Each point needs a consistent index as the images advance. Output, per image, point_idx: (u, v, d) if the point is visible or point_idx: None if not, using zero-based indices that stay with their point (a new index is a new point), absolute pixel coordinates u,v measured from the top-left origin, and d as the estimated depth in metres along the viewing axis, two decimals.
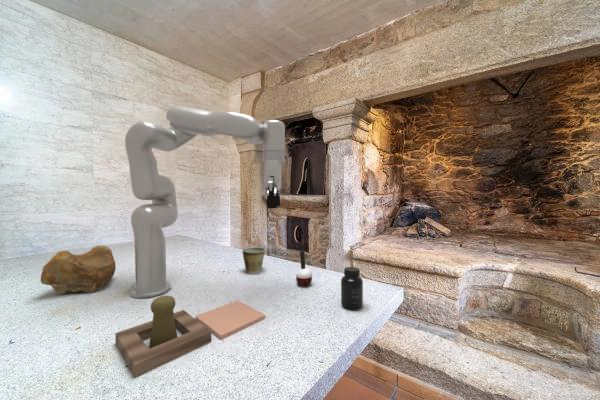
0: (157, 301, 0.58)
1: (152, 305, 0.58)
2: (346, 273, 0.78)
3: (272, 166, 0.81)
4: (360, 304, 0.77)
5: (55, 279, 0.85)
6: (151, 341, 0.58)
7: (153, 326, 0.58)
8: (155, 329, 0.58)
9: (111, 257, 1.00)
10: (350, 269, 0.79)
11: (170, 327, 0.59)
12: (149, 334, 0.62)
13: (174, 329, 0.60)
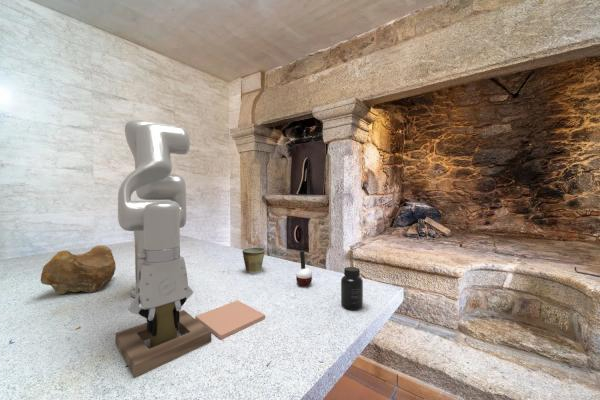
0: None
1: None
2: (346, 273, 0.78)
3: None
4: (360, 304, 0.77)
5: (55, 279, 0.85)
6: (151, 341, 0.58)
7: None
8: None
9: (111, 257, 1.00)
10: (350, 269, 0.79)
11: (170, 327, 0.59)
12: (149, 334, 0.62)
13: (174, 329, 0.60)
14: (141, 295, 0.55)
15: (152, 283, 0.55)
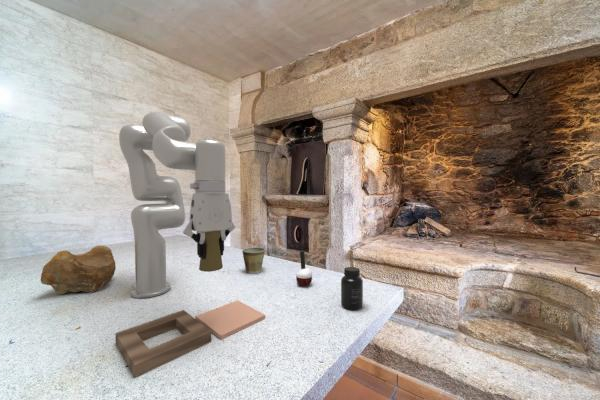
0: None
1: None
2: (346, 273, 0.78)
3: None
4: (360, 304, 0.77)
5: (55, 279, 0.85)
6: (201, 264, 0.65)
7: None
8: None
9: (111, 257, 1.00)
10: (350, 269, 0.79)
11: (217, 253, 0.66)
12: (149, 334, 0.62)
13: (220, 256, 0.67)
14: (194, 219, 0.62)
15: (204, 209, 0.62)
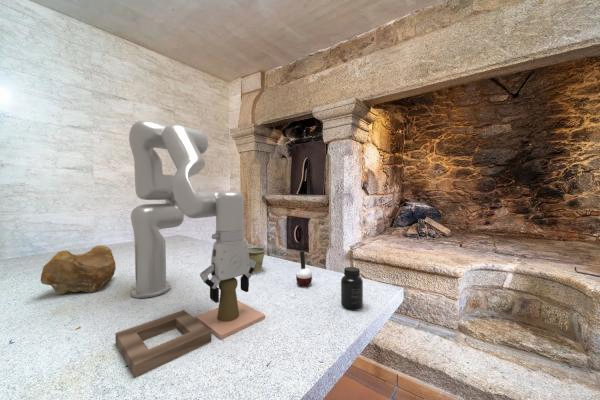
0: (224, 280, 0.69)
1: (220, 283, 0.69)
2: (346, 273, 0.78)
3: None
4: (360, 304, 0.77)
5: (55, 279, 0.85)
6: (219, 314, 0.69)
7: (221, 301, 0.69)
8: (223, 304, 0.68)
9: (111, 257, 1.00)
10: (350, 269, 0.79)
11: (234, 302, 0.70)
12: (149, 334, 0.62)
13: (237, 305, 0.71)
14: (217, 268, 0.66)
15: (225, 259, 0.67)
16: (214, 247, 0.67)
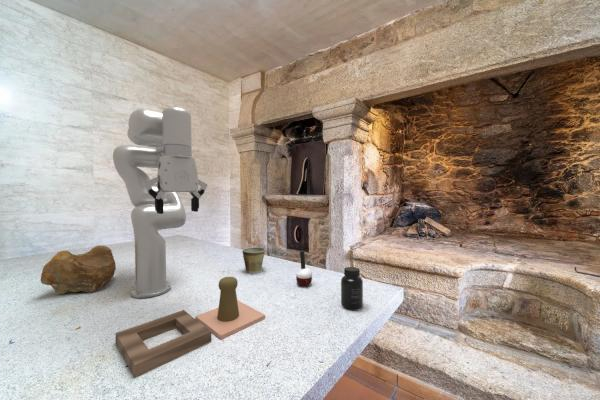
0: (224, 280, 0.69)
1: (220, 283, 0.69)
2: (346, 273, 0.78)
3: None
4: (360, 304, 0.77)
5: (55, 279, 0.85)
6: (219, 314, 0.69)
7: (221, 301, 0.69)
8: (223, 304, 0.68)
9: (111, 257, 1.00)
10: (350, 269, 0.79)
11: (234, 302, 0.70)
12: (149, 334, 0.62)
13: (237, 305, 0.71)
14: (161, 179, 0.67)
15: (170, 170, 0.68)
16: (159, 160, 0.69)
